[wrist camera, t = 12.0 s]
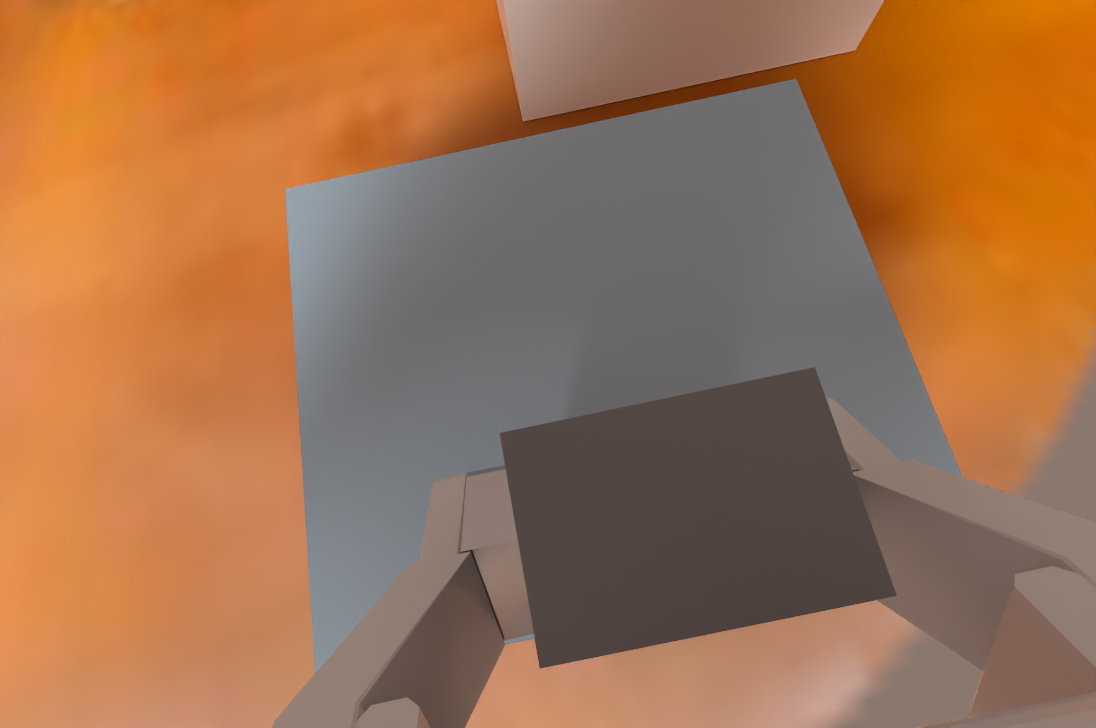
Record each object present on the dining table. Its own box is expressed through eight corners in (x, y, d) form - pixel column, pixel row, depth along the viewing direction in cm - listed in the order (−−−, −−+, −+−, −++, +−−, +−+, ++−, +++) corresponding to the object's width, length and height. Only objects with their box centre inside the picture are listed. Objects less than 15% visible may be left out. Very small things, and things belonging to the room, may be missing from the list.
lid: (356, 658, 13) (-120, 947, 4) (320, 227, 16) (19, -100, 8) (930, 541, 13) (1666, 590, 4) (771, 130, 16) (984, -318, 7)
